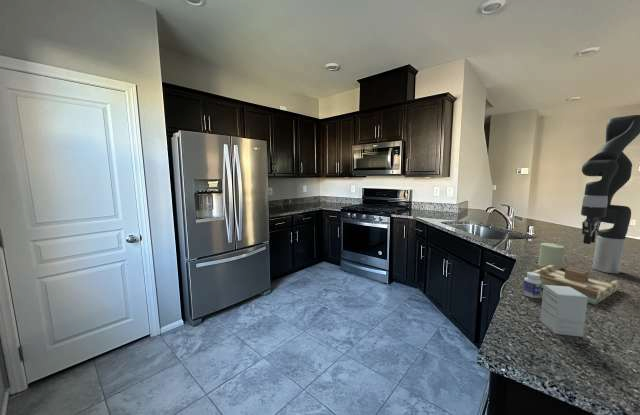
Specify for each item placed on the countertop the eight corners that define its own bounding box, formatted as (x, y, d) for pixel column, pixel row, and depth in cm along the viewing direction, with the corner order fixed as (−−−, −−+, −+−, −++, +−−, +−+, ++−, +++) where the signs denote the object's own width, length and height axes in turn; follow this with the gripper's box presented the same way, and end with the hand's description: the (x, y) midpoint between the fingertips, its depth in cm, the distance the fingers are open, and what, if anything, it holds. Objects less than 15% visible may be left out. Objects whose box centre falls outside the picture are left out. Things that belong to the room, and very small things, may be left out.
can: (566, 270, 127) (569, 247, 126) (545, 268, 129) (548, 246, 128) (553, 264, 136) (556, 242, 135) (534, 262, 138) (536, 241, 137)
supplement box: (565, 323, 81) (570, 286, 80) (583, 337, 74) (589, 297, 72) (538, 320, 83) (543, 283, 81) (553, 334, 76) (559, 294, 74)
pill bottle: (536, 299, 97) (539, 277, 96) (520, 294, 101) (522, 272, 100) (541, 296, 100) (544, 274, 99) (525, 291, 104) (528, 270, 103)
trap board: (550, 272, 125) (552, 262, 124) (617, 289, 105) (619, 278, 105) (525, 282, 112) (526, 271, 112) (595, 304, 93) (597, 291, 92)
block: (569, 275, 116) (570, 267, 115) (588, 280, 110) (589, 271, 110) (564, 277, 113) (565, 269, 112) (582, 282, 107) (584, 273, 107)
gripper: (588, 203, 119) (583, 239, 121) (576, 205, 112) (571, 243, 114) (612, 205, 112) (606, 243, 114) (600, 207, 105) (595, 247, 107)
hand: (588, 242), depth 114 cm, fingers open, 4 cm apart
